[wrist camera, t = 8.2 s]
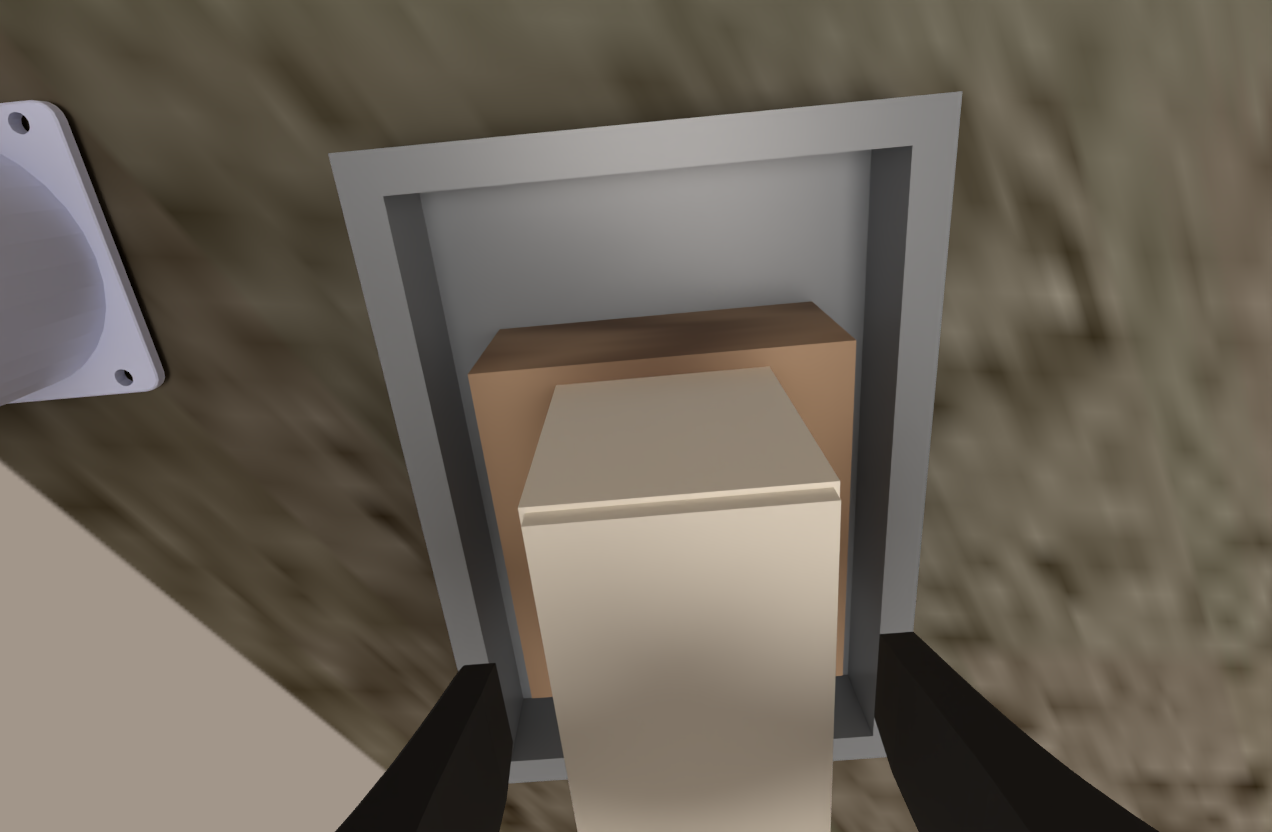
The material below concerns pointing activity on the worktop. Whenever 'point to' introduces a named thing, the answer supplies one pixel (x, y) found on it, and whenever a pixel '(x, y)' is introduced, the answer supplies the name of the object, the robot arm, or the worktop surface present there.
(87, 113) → the worktop surface
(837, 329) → the walnut block
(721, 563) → the cream lidded carton
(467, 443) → the tote
